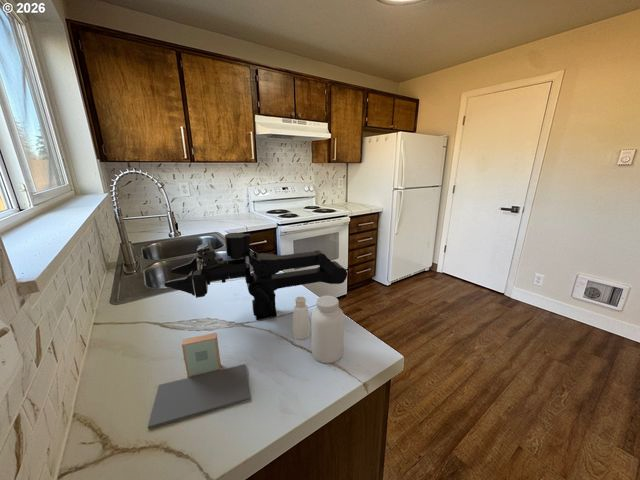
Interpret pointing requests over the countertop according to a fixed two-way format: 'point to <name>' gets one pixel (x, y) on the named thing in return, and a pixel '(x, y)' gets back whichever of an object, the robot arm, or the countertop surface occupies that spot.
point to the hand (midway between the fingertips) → (167, 277)
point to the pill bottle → (327, 330)
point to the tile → (201, 354)
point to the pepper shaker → (301, 319)
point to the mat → (199, 395)
